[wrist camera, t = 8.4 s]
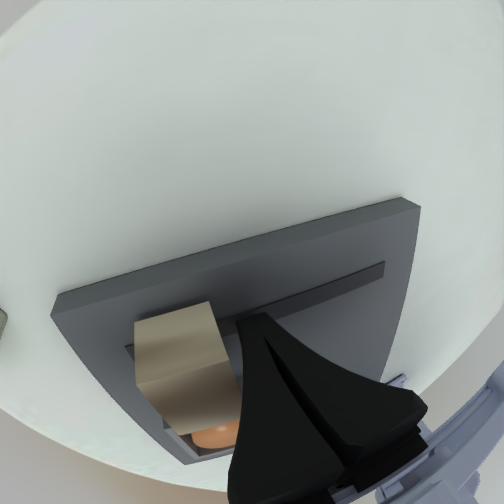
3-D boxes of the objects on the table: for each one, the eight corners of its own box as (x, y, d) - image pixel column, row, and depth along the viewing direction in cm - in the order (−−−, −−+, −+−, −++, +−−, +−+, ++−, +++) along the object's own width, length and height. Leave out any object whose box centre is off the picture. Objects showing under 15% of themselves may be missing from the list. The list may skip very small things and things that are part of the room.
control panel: (366, 382, 23) (386, 408, 20) (181, 450, 19) (189, 484, 16) (401, 197, 14) (449, 221, 11) (58, 294, 10) (39, 350, 7)
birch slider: (229, 364, 12) (248, 416, 10) (168, 381, 12) (179, 435, 9) (208, 301, 10) (229, 359, 8) (134, 322, 10) (135, 384, 7)
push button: (250, 416, 16) (259, 436, 14) (197, 432, 15) (203, 453, 14) (241, 389, 14) (250, 413, 13) (178, 407, 13) (183, 431, 12)
